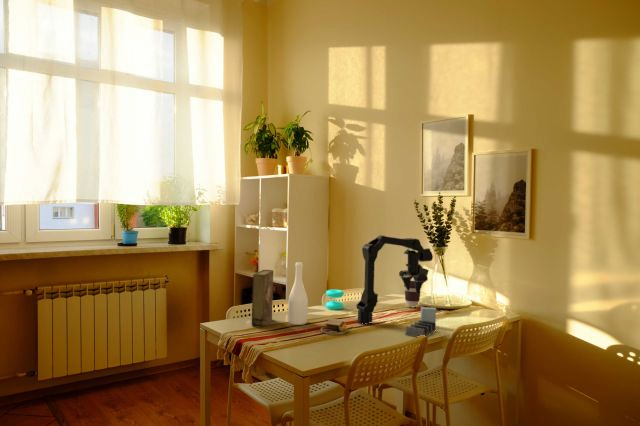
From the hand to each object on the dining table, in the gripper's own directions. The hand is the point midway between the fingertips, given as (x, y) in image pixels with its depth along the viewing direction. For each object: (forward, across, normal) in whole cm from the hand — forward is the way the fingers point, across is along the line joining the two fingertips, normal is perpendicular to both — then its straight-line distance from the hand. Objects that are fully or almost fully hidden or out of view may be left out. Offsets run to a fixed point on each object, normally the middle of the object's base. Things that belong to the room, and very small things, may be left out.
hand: (413, 292), depth 266 cm
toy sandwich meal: (+13, -10, +50) cm, 53 cm away
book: (+12, +14, +78) cm, 80 cm away
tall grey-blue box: (+14, -14, 0) cm, 20 cm away
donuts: (+14, +35, +30) cm, 48 cm away
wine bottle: (+12, +9, +61) cm, 63 cm away
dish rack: (+14, -24, +11) cm, 30 cm away
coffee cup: (+15, +26, -16) cm, 34 cm away
